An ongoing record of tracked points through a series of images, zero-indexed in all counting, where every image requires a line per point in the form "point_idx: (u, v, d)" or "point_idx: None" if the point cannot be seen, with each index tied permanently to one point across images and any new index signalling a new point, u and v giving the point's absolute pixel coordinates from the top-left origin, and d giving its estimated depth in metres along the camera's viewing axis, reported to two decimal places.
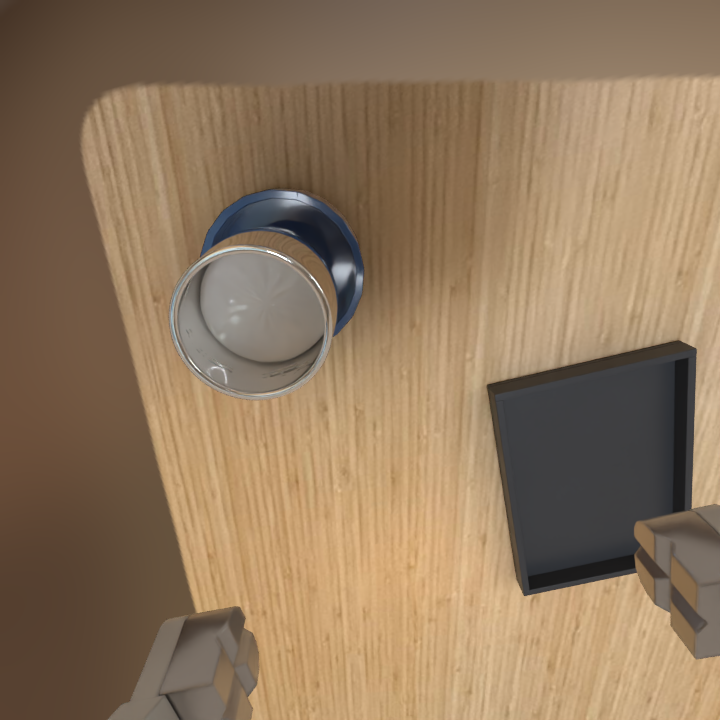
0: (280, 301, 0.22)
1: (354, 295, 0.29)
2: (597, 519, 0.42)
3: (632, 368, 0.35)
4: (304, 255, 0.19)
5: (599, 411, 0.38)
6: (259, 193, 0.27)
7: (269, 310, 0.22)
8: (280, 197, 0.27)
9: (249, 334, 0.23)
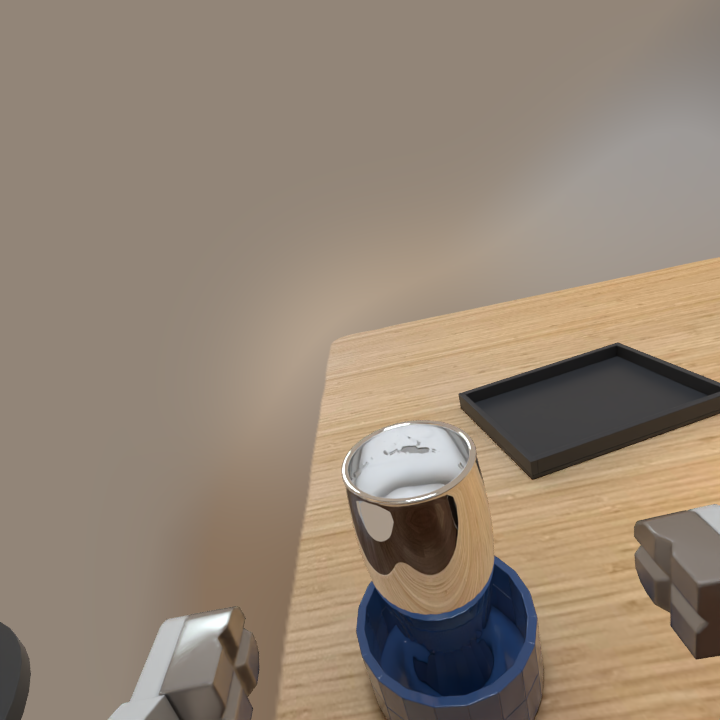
0: None
1: None
2: (621, 389, 0.50)
3: (480, 409, 0.50)
4: None
5: (525, 418, 0.49)
6: (359, 641, 0.26)
7: None
8: (363, 621, 0.27)
9: None
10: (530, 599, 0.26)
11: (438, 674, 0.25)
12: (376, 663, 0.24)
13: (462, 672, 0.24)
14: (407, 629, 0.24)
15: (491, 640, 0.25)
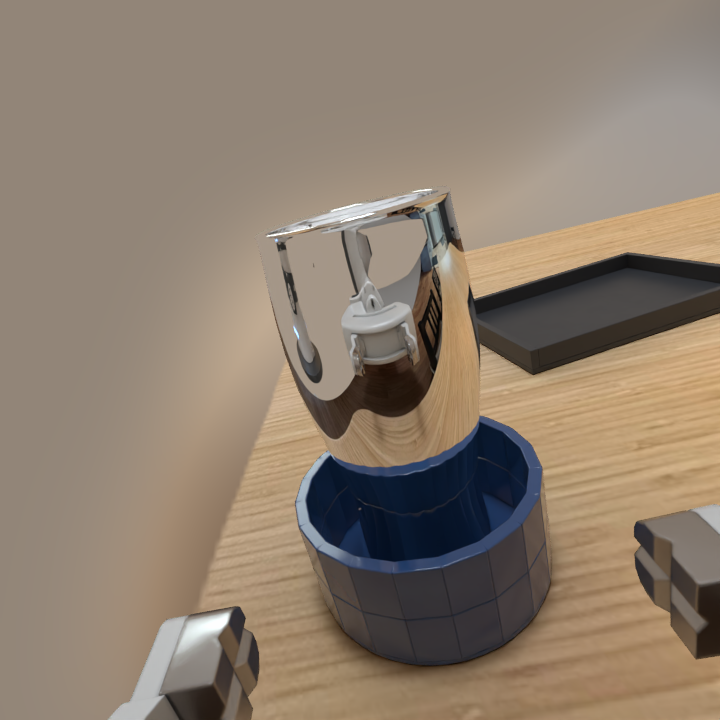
0: None
1: None
2: (635, 291, 0.43)
3: None
4: None
5: (523, 324, 0.42)
6: (297, 511, 0.19)
7: None
8: (306, 492, 0.20)
9: None
10: (532, 451, 0.19)
11: (404, 548, 0.17)
12: (316, 532, 0.17)
13: (438, 543, 0.17)
14: (357, 476, 0.17)
15: (479, 506, 0.18)
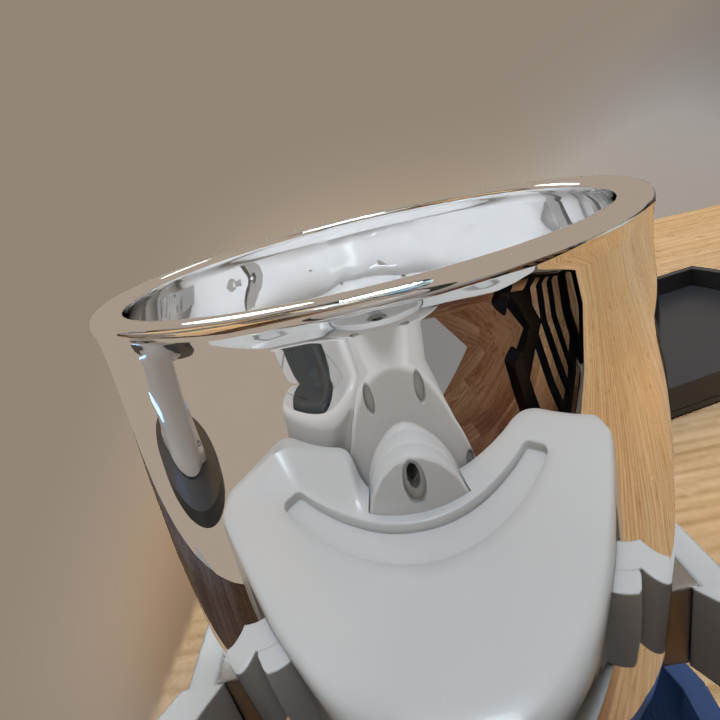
0: None
1: None
2: (714, 319, 0.34)
3: None
4: None
5: None
6: None
7: None
8: None
9: None
10: (716, 709, 0.09)
11: None
12: None
13: None
14: None
15: None
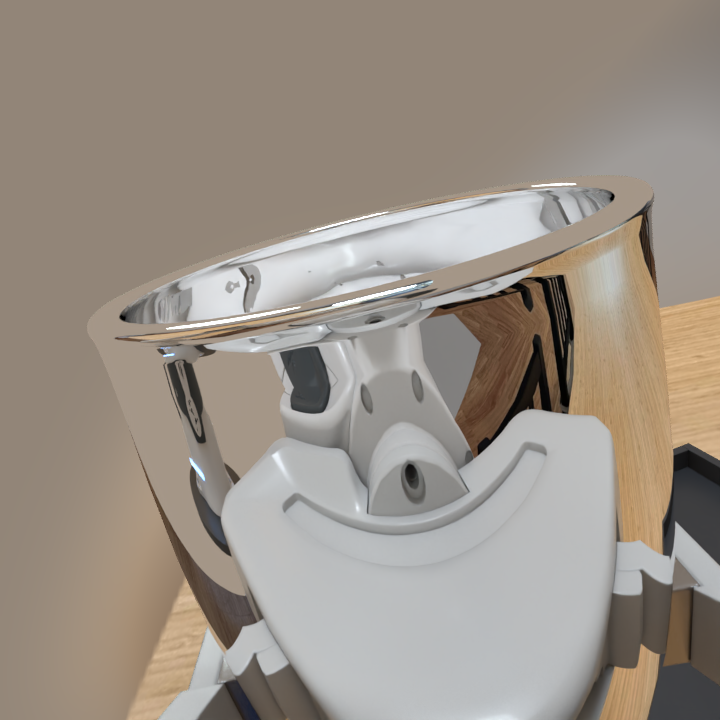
0: None
1: None
2: (716, 559, 0.26)
3: None
4: None
5: None
6: None
7: None
8: None
9: None
10: None
11: None
12: None
13: None
14: None
15: None
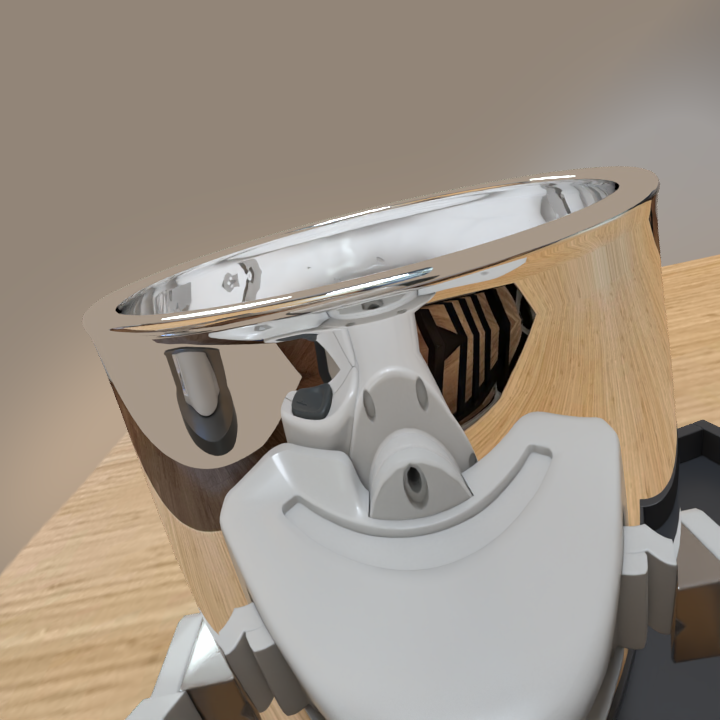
0: None
1: None
2: None
3: None
4: None
5: None
6: None
7: None
8: None
9: None
10: None
11: None
12: None
13: None
14: None
15: None
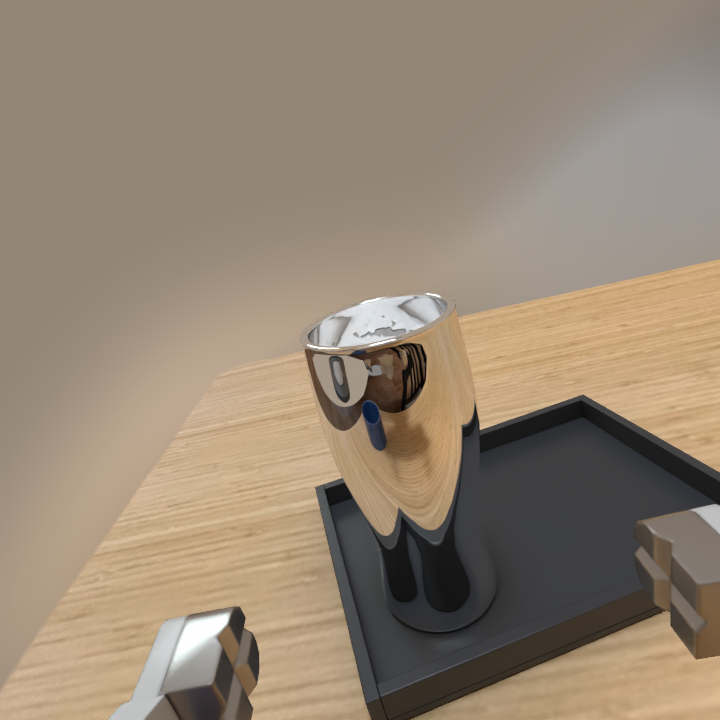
0: None
1: None
2: (583, 490, 0.28)
3: (332, 529, 0.28)
4: None
5: None
6: None
7: None
8: None
9: None
10: None
11: (418, 583, 0.21)
12: None
13: (445, 579, 0.21)
14: (380, 526, 0.20)
15: (479, 547, 0.22)
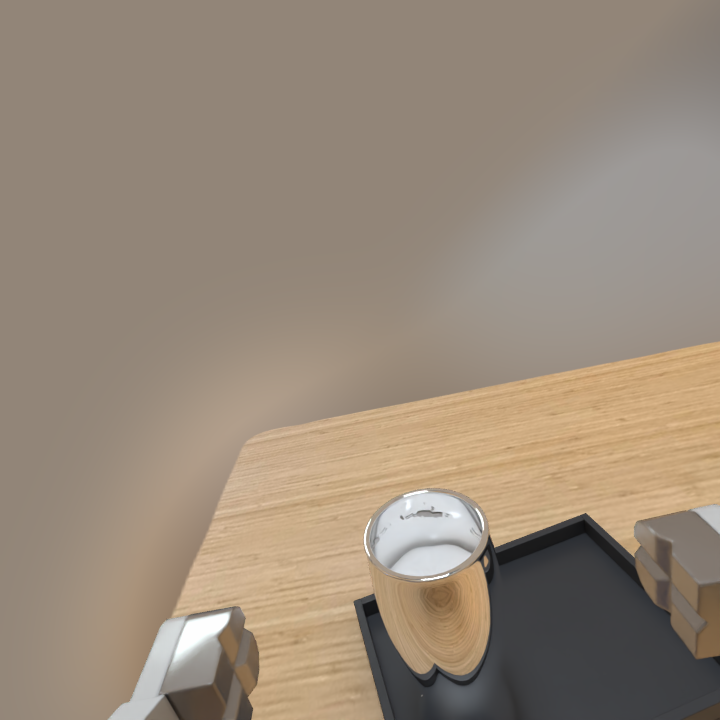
0: (433, 573, 0.26)
1: None
2: (586, 619, 0.33)
3: (373, 652, 0.33)
4: None
5: None
6: None
7: None
8: None
9: None
10: None
11: None
12: None
13: None
14: (424, 687, 0.25)
15: (502, 694, 0.27)
